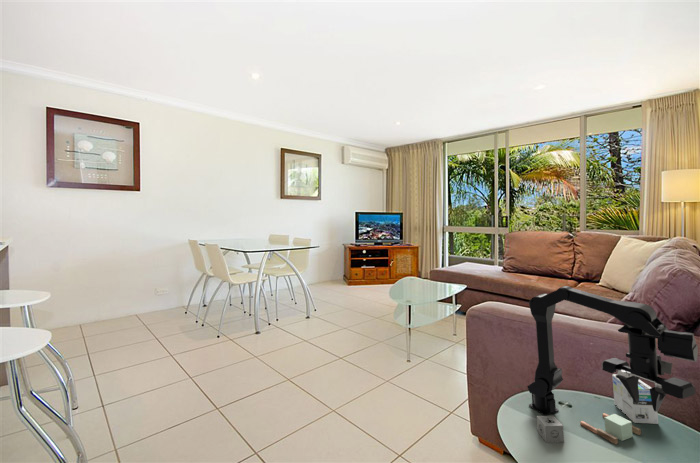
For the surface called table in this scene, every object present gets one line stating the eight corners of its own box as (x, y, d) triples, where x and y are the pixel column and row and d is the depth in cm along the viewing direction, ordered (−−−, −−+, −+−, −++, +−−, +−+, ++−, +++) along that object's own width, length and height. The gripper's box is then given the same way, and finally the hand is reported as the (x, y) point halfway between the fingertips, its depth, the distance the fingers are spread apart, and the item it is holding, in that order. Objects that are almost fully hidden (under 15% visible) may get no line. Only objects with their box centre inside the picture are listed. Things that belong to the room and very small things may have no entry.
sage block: (605, 432, 96) (604, 417, 96) (615, 428, 98) (614, 413, 98) (622, 441, 92) (621, 425, 92) (632, 437, 93) (631, 421, 93)
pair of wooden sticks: (580, 424, 100) (580, 420, 100) (604, 416, 104) (604, 411, 104) (615, 444, 91) (615, 439, 91) (640, 434, 94) (640, 429, 94)
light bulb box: (659, 424, 98) (657, 389, 98) (634, 423, 99) (631, 389, 99) (635, 405, 108) (633, 374, 108) (613, 404, 110) (611, 373, 110)
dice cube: (546, 442, 93) (545, 426, 93) (537, 432, 98) (536, 416, 98) (564, 442, 93) (562, 425, 93) (554, 431, 98) (553, 415, 98)
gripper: (706, 357, 81) (710, 417, 81) (624, 335, 99) (627, 385, 99) (679, 365, 78) (683, 429, 78) (598, 342, 95) (602, 393, 95)
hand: (646, 406), depth 88 cm, fingers open, 4 cm apart
